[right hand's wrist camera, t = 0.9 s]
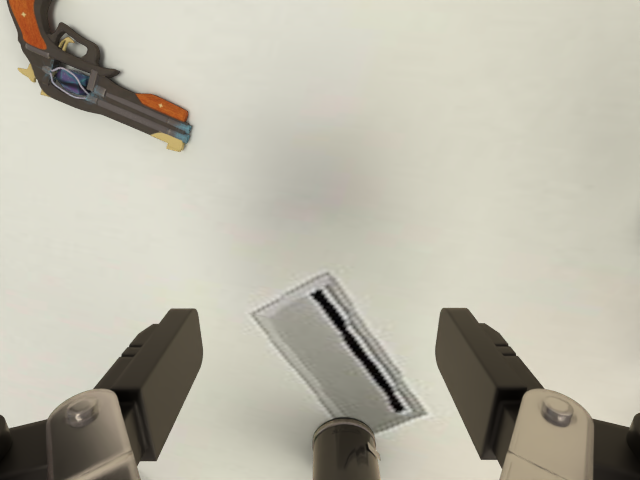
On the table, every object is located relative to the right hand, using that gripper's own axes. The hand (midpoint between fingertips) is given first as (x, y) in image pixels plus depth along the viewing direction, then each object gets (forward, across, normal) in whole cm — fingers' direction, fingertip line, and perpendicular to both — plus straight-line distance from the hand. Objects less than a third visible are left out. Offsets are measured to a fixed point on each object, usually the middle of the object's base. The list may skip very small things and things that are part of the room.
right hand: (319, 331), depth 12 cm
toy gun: (+29, -21, +11) cm, 37 cm away
